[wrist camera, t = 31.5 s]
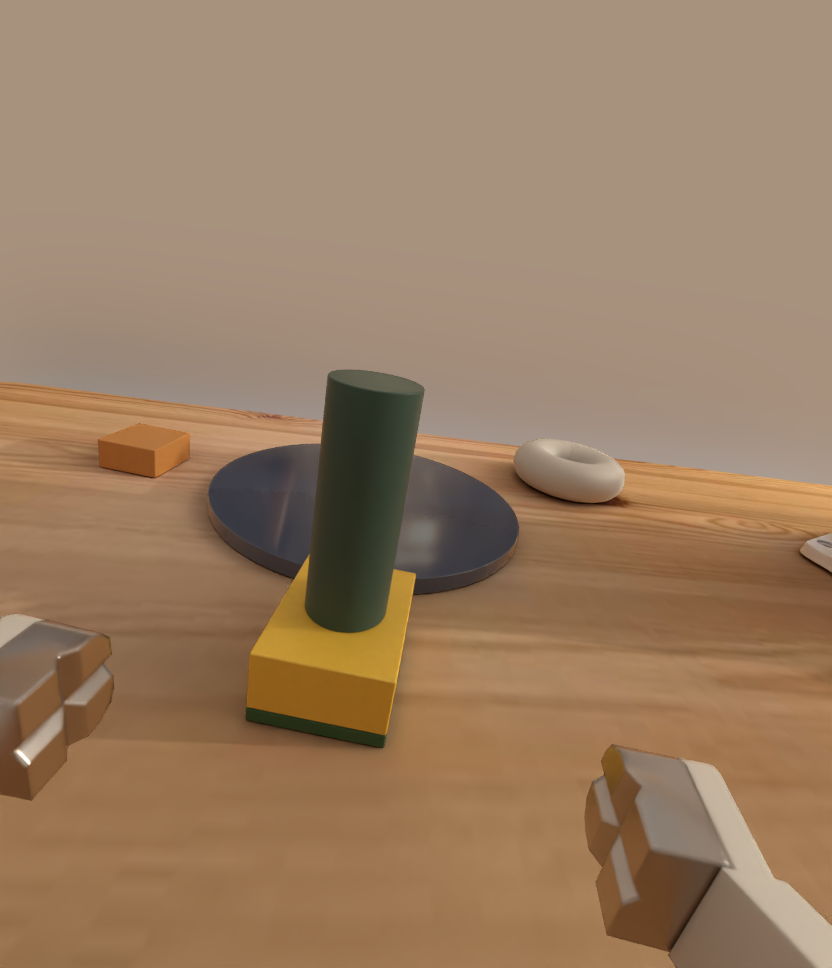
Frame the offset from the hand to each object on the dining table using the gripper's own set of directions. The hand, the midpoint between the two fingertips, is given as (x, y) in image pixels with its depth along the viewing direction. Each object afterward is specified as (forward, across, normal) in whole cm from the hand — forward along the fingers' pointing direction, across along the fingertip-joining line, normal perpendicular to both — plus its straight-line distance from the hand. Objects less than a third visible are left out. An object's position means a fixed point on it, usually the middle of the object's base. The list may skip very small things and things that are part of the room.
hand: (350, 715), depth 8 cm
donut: (+39, -12, +9) cm, 42 cm away
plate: (+26, +4, +9) cm, 28 cm away
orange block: (+26, +20, +9) cm, 34 cm away
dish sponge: (+10, +2, +9) cm, 14 cm away
